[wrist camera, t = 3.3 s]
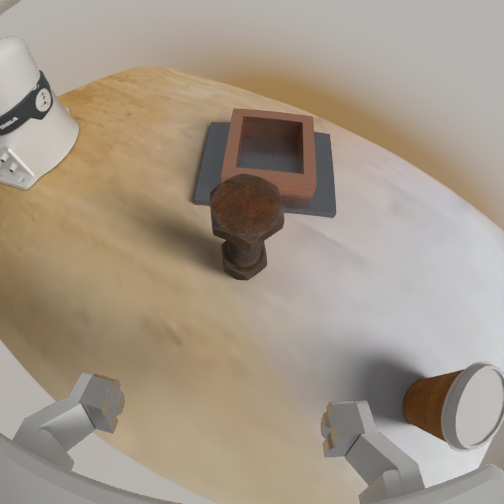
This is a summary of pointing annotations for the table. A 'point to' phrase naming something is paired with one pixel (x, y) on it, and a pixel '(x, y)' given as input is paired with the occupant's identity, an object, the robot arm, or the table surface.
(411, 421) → the disposable coffee cup
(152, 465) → the table surface
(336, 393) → the table surface
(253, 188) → the bolt
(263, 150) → the socket
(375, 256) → the table surface
